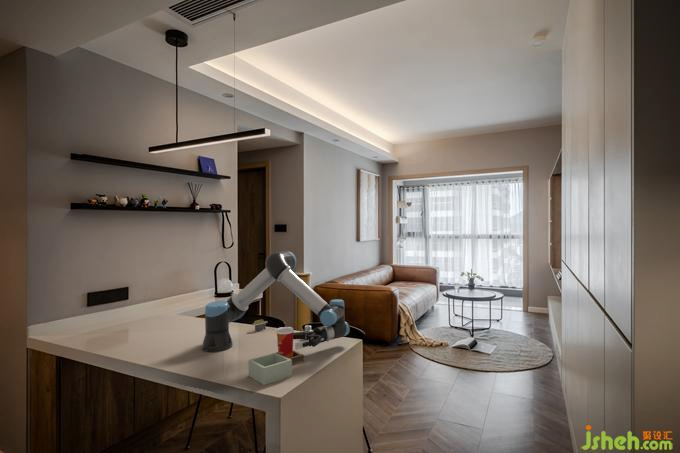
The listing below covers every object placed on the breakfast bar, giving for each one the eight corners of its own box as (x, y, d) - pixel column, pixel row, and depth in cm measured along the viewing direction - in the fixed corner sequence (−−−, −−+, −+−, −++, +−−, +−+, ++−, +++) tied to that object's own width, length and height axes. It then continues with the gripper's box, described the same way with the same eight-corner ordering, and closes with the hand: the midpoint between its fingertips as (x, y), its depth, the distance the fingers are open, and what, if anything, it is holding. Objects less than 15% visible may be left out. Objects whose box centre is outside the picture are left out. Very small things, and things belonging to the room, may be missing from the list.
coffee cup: (277, 358, 171) (276, 326, 172) (295, 357, 172) (294, 326, 172) (275, 365, 163) (275, 331, 163) (294, 364, 164) (293, 330, 164)
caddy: (248, 375, 151) (248, 359, 151) (275, 367, 160) (275, 352, 160) (264, 384, 141) (263, 368, 142) (292, 375, 150) (291, 359, 150)
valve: (301, 338, 204) (316, 342, 196) (301, 326, 204) (316, 330, 197) (310, 335, 209) (325, 339, 201) (309, 324, 209) (324, 327, 201)
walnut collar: (267, 361, 168) (267, 354, 168) (289, 355, 176) (289, 348, 176) (281, 368, 159) (281, 361, 159) (303, 361, 167) (303, 354, 167)
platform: (241, 332, 221) (241, 321, 221) (265, 326, 235) (265, 316, 235) (253, 335, 214) (253, 324, 214) (277, 329, 227) (276, 318, 227)
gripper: (339, 346, 172) (303, 357, 158) (308, 336, 191) (273, 345, 177) (339, 331, 173) (303, 340, 158) (308, 322, 191) (273, 330, 177)
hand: (287, 343), depth 168 cm, fingers open, 13 cm apart
